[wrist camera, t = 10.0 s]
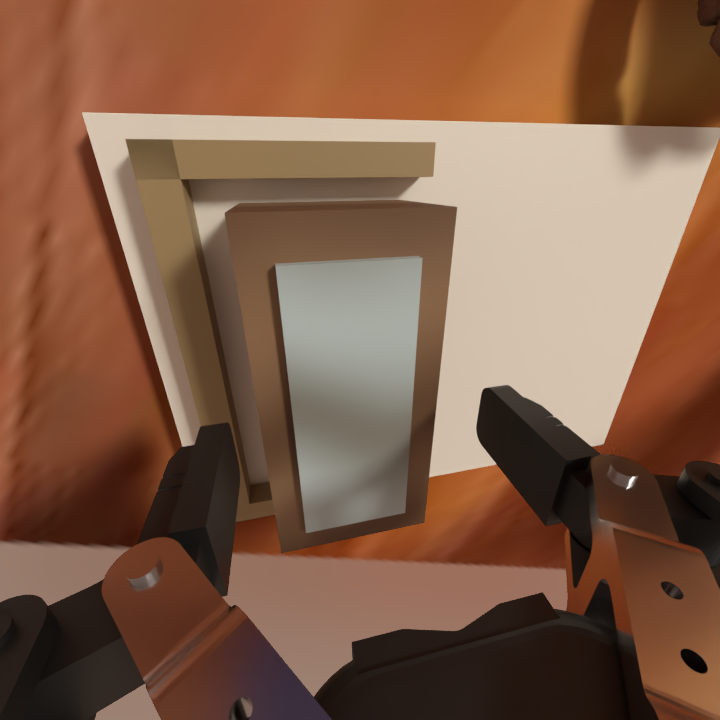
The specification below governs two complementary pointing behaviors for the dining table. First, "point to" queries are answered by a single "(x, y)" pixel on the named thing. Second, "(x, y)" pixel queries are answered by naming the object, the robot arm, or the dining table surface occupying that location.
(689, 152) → the wall board
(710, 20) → the pottery mug
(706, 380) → the dining table surface
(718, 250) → the dining table surface
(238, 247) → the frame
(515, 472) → the robot arm
